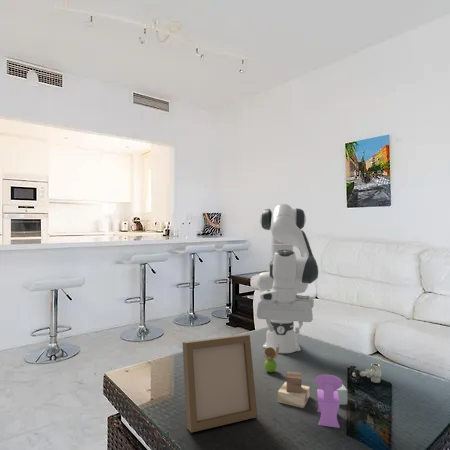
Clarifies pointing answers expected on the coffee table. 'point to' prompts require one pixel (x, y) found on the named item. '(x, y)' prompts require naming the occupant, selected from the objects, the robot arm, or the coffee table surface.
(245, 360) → the photo frame
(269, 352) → the snail figurine
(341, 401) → the grey-green cube
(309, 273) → the robot arm
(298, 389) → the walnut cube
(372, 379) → the valve
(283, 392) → the beech block
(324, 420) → the toy chair
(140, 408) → the coffee table surface
